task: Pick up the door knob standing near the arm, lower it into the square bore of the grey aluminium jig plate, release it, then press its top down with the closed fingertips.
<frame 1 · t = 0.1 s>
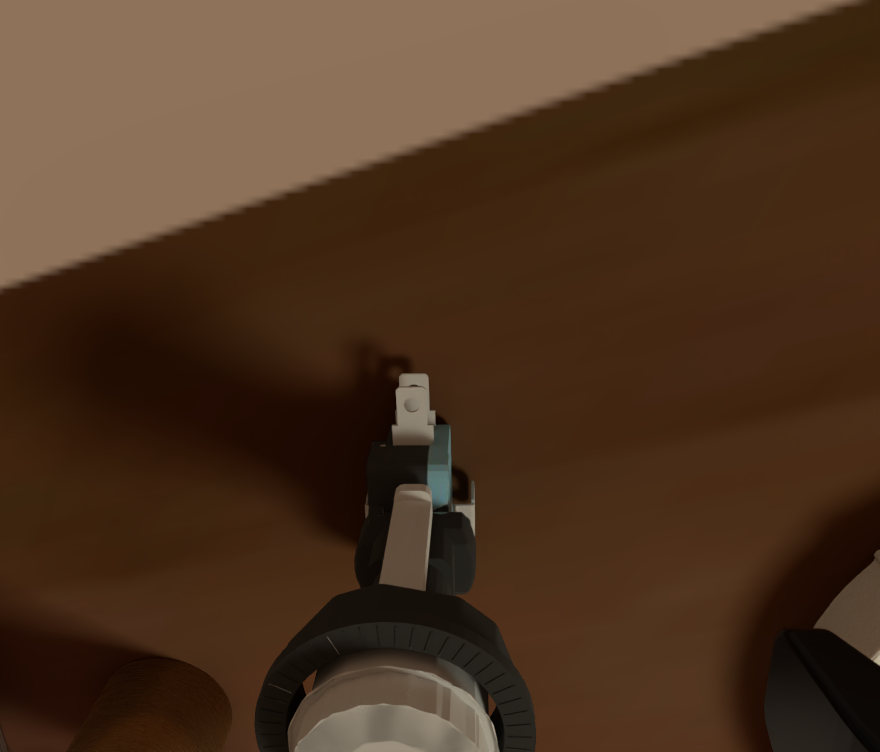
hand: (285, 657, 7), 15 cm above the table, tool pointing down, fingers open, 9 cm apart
door knob: (167, 709, 27), on the table
push button: (423, 469, 23), on the table
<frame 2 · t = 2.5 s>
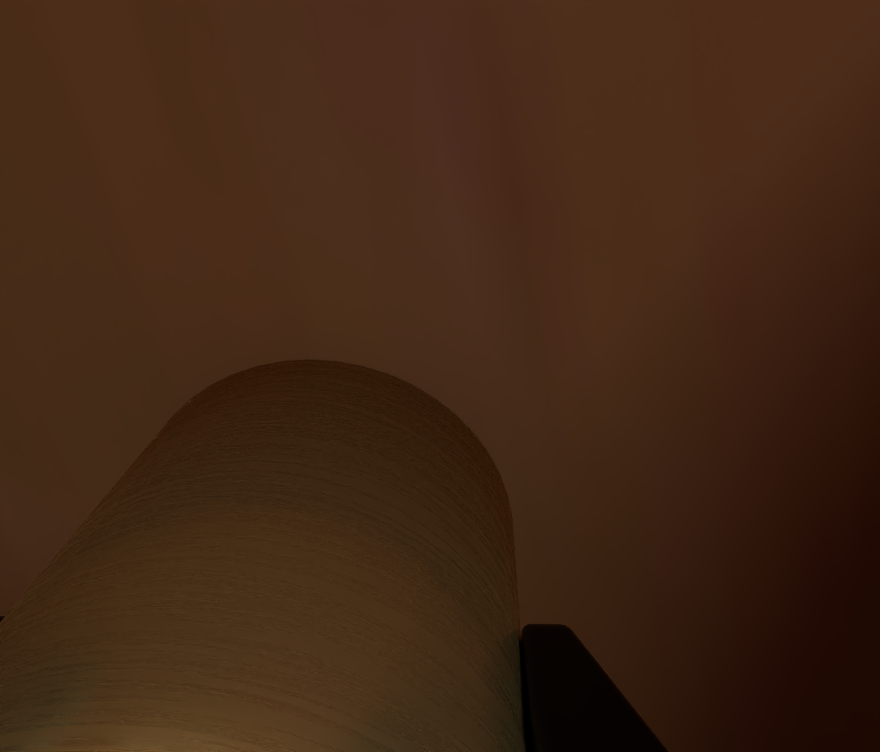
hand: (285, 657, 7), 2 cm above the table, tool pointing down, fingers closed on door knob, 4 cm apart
door knob: (324, 536, 9), on the table, touching gripper
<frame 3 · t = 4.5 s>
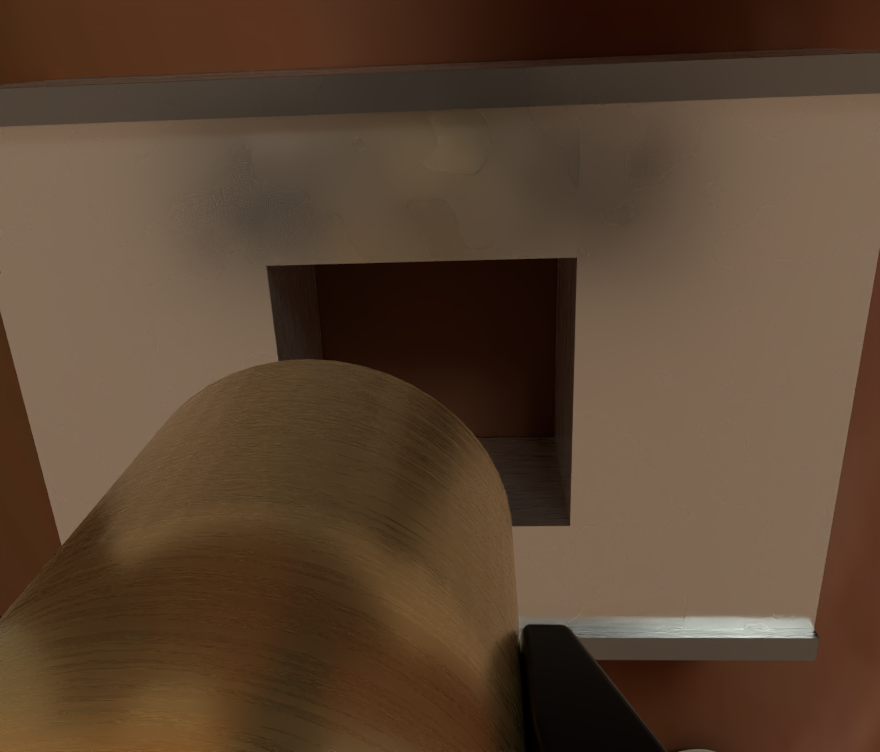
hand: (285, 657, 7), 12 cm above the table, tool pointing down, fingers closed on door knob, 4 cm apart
jig: (437, 333, 19), on the table
door knob: (322, 535, 9), point 10 cm above the table, touching gripper
when the fingers open (4 cm above the table, at t = 6.8 s): door knob drops 2 cm, resting in jig.
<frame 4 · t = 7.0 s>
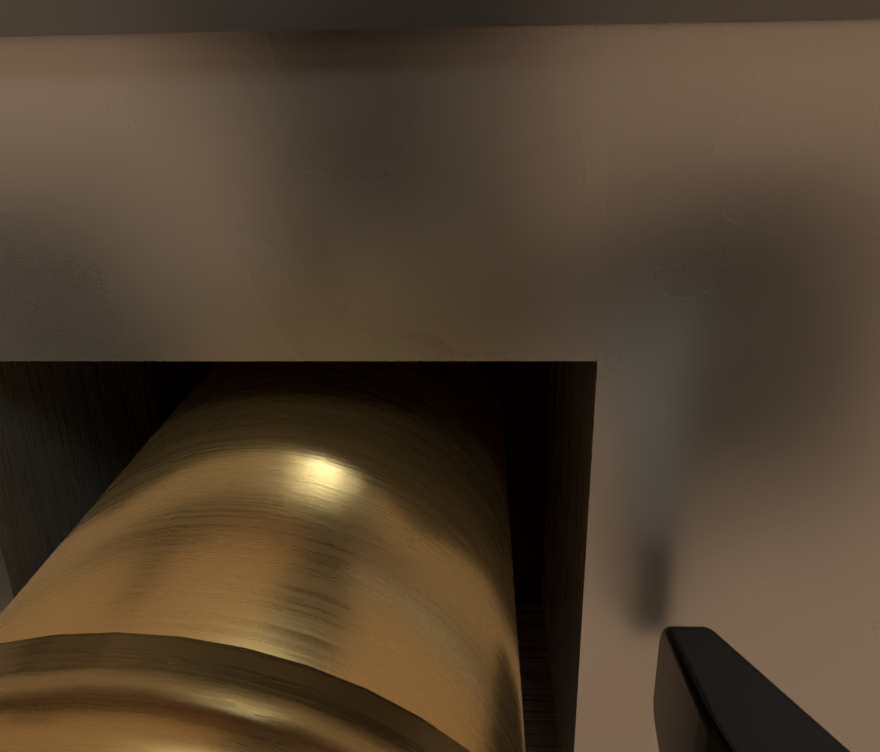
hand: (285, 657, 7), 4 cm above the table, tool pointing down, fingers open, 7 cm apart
jig: (353, 443, 12), on the table
door knob: (351, 441, 12), resting in jig
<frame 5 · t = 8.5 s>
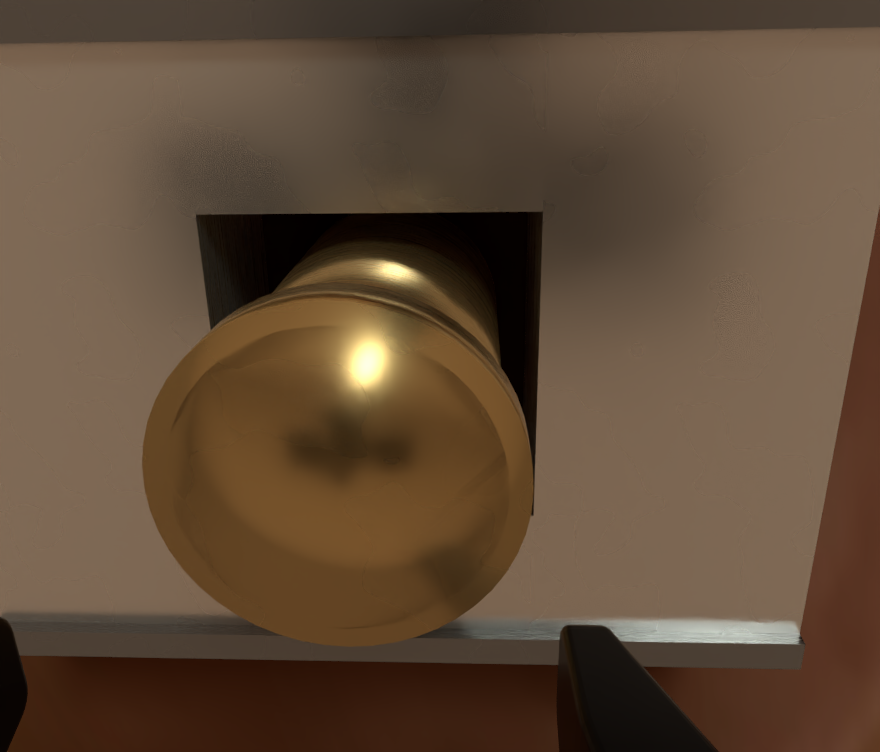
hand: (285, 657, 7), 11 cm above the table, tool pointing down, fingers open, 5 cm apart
jig: (397, 306, 18), on the table
door knob: (396, 305, 18), resting in jig
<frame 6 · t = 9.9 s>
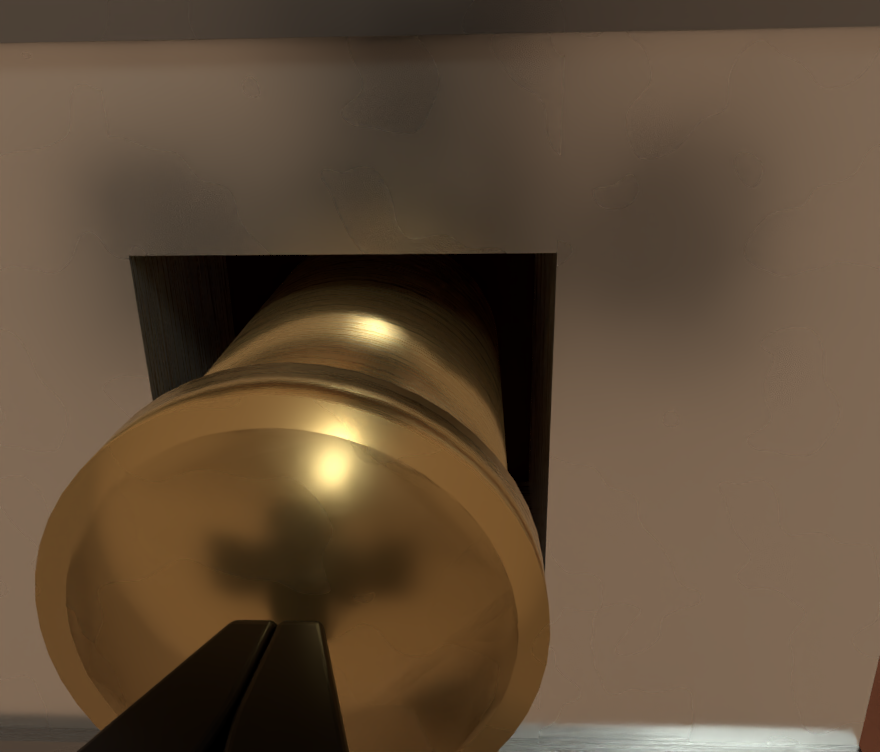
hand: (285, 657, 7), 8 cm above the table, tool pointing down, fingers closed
jig: (383, 350, 15), on the table
door knob: (381, 349, 15), resting in jig
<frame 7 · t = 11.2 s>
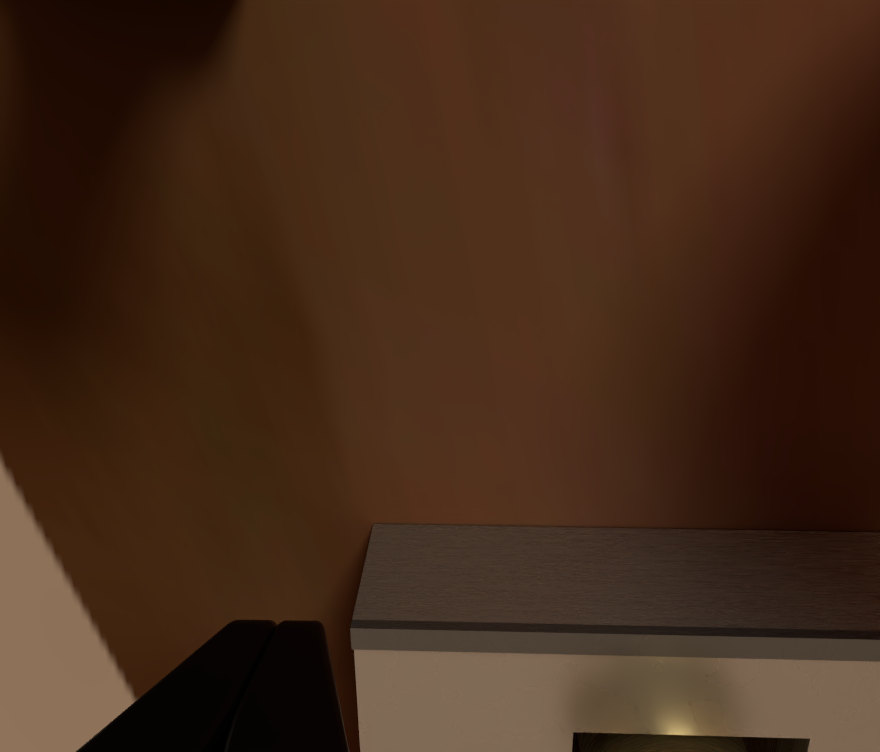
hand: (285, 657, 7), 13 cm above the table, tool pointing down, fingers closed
jig: (648, 700, 24), on the table
door knob: (647, 699, 24), resting in jig
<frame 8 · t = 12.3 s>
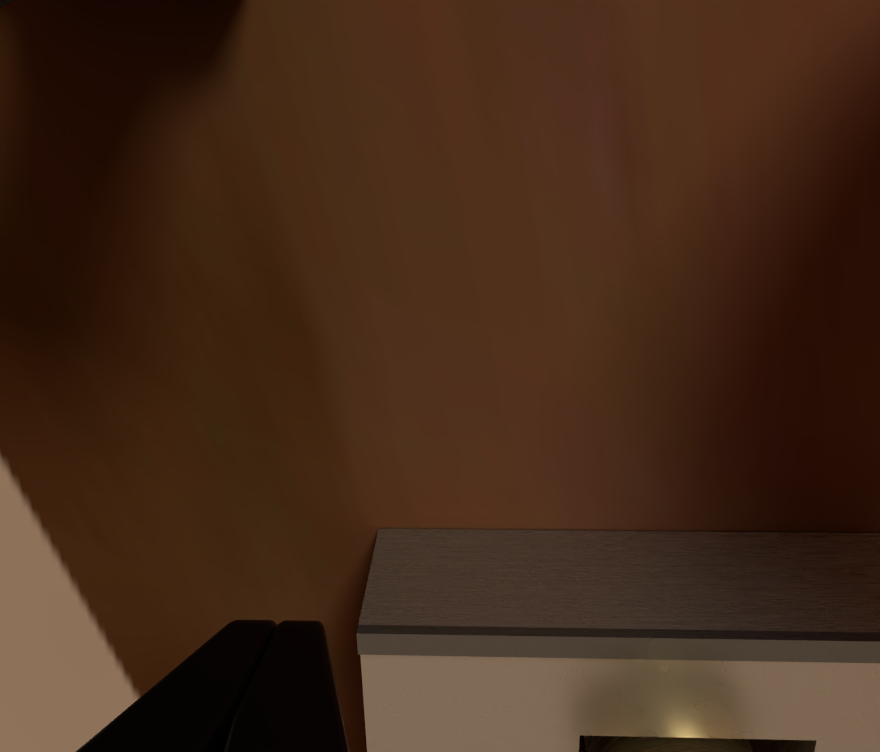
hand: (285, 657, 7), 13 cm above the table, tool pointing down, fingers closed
jig: (654, 703, 24), on the table
door knob: (653, 701, 24), resting in jig
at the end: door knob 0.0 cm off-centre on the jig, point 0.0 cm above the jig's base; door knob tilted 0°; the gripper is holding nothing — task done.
